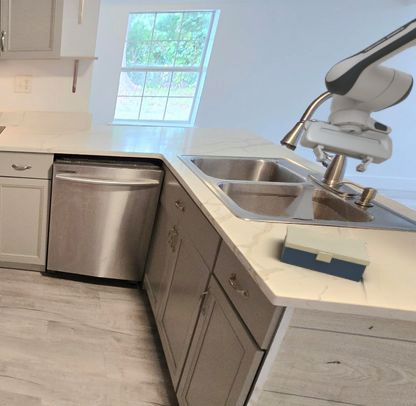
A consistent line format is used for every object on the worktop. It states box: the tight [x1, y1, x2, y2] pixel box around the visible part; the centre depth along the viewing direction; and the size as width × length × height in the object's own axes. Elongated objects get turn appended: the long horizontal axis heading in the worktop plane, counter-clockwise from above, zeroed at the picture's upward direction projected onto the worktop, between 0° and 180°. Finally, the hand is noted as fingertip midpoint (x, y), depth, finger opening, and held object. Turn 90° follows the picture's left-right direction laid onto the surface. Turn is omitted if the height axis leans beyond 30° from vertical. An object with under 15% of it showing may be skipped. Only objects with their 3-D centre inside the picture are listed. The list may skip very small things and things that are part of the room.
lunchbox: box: [280, 224, 371, 283], centre depth 89 cm, size 14×12×6 cm
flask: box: [284, 183, 317, 220], centre depth 111 cm, size 7×7×10 cm
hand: (340, 166), depth 103 cm, fingers open, 8 cm apart
